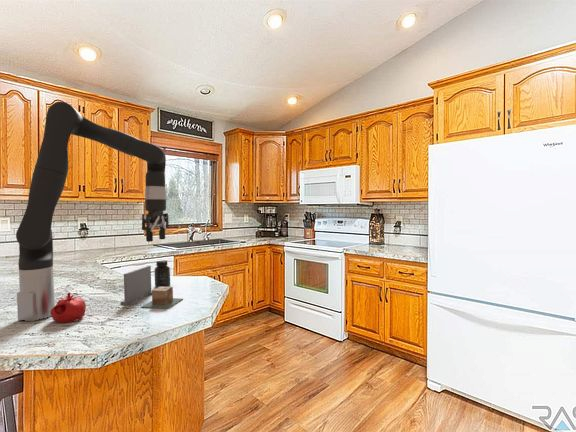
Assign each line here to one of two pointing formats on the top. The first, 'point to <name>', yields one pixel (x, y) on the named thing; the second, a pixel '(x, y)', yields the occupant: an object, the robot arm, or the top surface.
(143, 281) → the screen
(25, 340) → the top surface
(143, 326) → the top surface
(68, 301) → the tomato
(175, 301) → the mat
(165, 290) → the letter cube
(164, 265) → the supplement bottle
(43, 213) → the robot arm
